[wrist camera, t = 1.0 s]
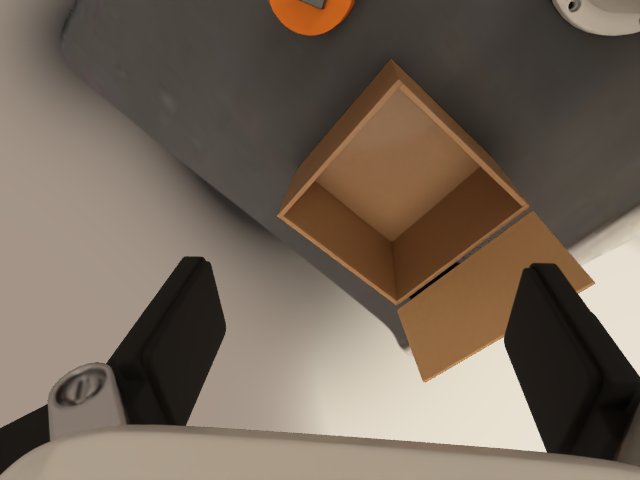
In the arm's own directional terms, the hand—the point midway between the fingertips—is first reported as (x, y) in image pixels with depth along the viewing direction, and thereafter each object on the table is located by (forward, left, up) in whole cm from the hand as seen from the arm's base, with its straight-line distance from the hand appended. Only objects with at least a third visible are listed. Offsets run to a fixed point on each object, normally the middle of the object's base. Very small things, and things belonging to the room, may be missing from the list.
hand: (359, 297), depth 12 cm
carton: (+3, +6, -28) cm, 29 cm away
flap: (+3, +14, -14) cm, 20 cm away
